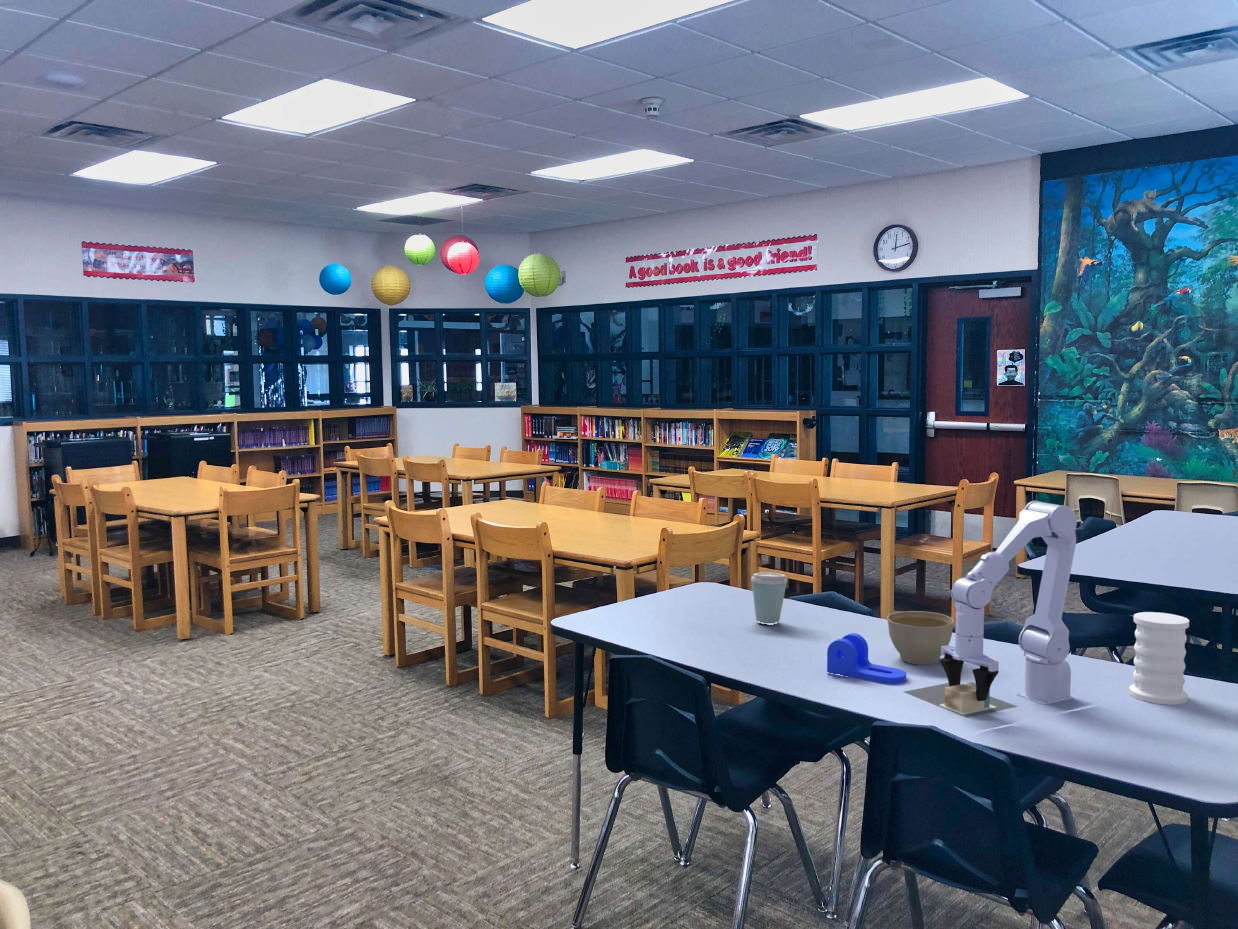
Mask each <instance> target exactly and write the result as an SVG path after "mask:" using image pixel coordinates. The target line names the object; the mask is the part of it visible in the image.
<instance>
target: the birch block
mask: <svg viewBox="0 0 1238 929" xmlns="http://www.w3.org/2000/svg"><path fill="white" fill-rule="evenodd" d="M990 693H991V688H990V689H989V692H988V695H987V699H986V700H984V701H977V697H976V682H973V681H970V682H966V683H960V685H955V686H950V687H945V704H944V705H945V706H947V707H949V708H952V709H954V710H957V711H959V712H966V711H971V710H976V709H980V708H985V707H989V702H990V696H991V694H990Z"/></svg>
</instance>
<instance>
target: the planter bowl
mask: <svg viewBox="0 0 1238 929" xmlns="http://www.w3.org/2000/svg"><path fill="white" fill-rule="evenodd" d="M886 619H887V625H888V626H887V628H888V634H889V637H890V640H891V642H892V644H893V647H894V648H895V650H896V651H897V652H898V654H899V656H900V660H901V659H902V660H901V661H903V662H905V661H906V662H905V663H907V662H910V663H909V664H911V663H912V665H932V664H937V663H939V662H940V659H941V656H942V655H941V646H946V645H949V644H950V642H951V640H952V635H953V627H954V623H955V622H954V619H953V618H952V617H950V616H948V615H946V614H942V613H939V612H931V611H923V610H921V611H917V610H912V611H909V610H907V611H898V612H893V613H890V614H889V615H887V617H886ZM949 646H950V645H949Z"/></svg>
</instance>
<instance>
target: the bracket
mask: <svg viewBox="0 0 1238 929" xmlns="http://www.w3.org/2000/svg"><path fill="white" fill-rule="evenodd" d="M826 651H827V652H826V654H827V656H826V664H827V665H826V673H827V672H829V673H833V674H840V675H843V676H848V677H847V678H849V677H850V678H854V679H858V680H866V681H868V682H869V681H870V682H876V683H880V684H887V685H888V684H889V685H897V684H902V683H905V682H907V671H905V670H903V669H900V668H896V667H892V666H891V667H890V666H886V665H880V664H875V663H871V662H870V659H869V646H868V642H867V641H866V639H865V638H864V637H863V636H862V635H860V634H859V633H855V632H851V633H848V634H847V635H844V636H843V637H841V638H838V639H836V640H834V641H832V642H831V643H830V644H829V645H828V647H827V650H826Z"/></svg>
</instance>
